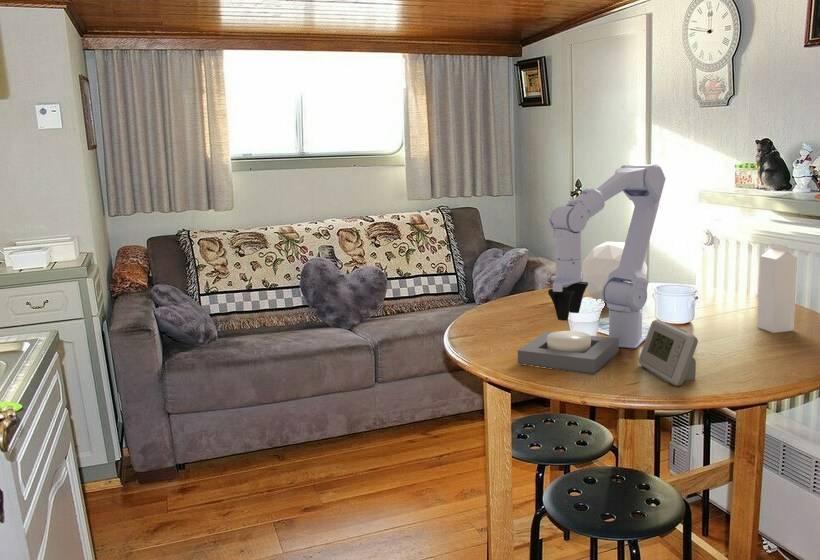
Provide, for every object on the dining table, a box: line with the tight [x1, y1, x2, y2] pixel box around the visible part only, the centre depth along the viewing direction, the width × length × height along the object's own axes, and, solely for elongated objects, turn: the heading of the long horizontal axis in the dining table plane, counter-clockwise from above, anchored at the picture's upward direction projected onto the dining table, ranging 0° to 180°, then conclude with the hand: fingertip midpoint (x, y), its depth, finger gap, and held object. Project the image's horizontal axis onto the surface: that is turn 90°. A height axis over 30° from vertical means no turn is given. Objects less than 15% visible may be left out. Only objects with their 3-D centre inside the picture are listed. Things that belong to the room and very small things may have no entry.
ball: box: [581, 241, 648, 305], centre depth 220 cm, size 19×20×20 cm
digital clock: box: [638, 319, 699, 387], centre depth 154 cm, size 16×9×11 cm, turn 179°
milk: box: [757, 242, 798, 334], centre depth 183 cm, size 6×6×22 cm
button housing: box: [517, 330, 620, 376], centre depth 169 cm, size 18×18×4 cm
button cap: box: [547, 330, 592, 353], centre depth 169 cm, size 10×10×3 cm
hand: (568, 316), depth 168 cm, fingers open, 7 cm apart
